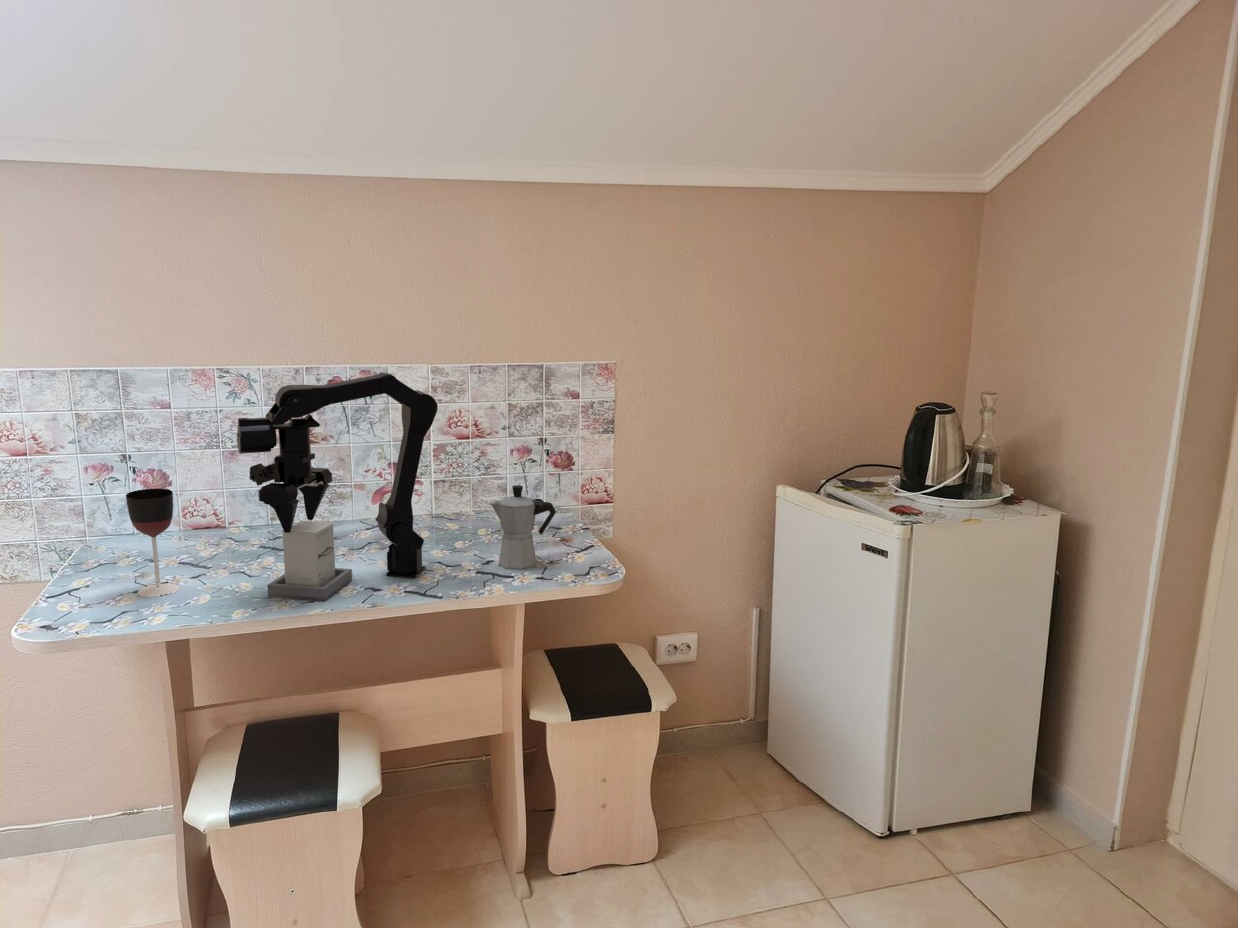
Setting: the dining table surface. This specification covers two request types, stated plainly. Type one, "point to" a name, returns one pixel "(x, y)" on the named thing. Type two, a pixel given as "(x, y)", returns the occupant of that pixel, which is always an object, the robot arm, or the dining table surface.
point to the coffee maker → (519, 528)
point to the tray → (310, 587)
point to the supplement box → (309, 554)
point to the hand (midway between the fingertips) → (299, 525)
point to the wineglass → (152, 527)
